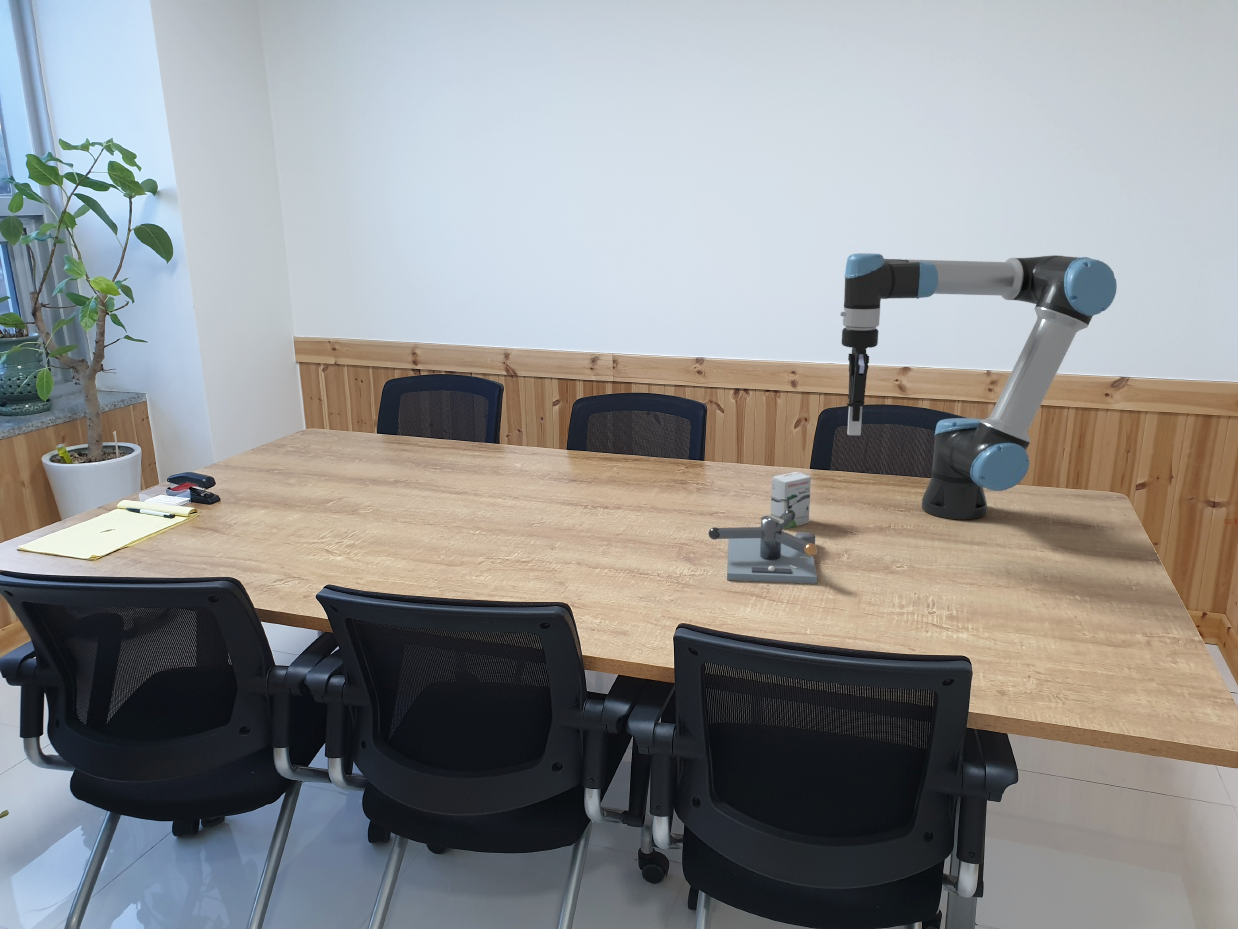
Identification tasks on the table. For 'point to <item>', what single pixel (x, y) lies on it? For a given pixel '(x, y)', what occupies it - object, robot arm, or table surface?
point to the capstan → (768, 536)
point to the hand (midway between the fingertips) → (853, 434)
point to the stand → (770, 562)
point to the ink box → (791, 496)
